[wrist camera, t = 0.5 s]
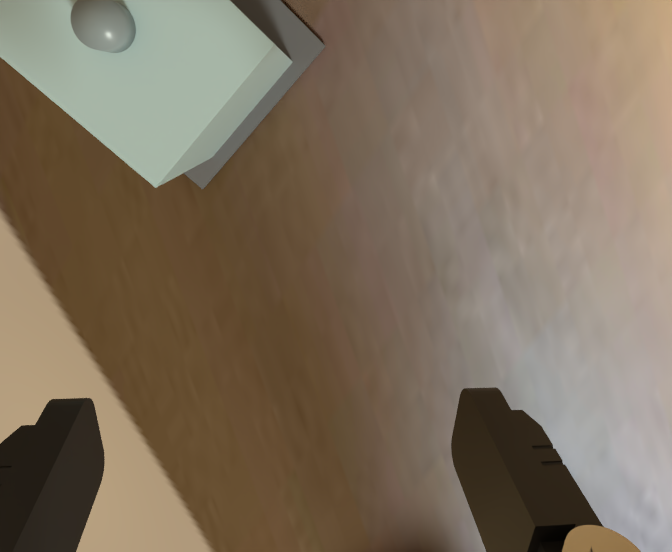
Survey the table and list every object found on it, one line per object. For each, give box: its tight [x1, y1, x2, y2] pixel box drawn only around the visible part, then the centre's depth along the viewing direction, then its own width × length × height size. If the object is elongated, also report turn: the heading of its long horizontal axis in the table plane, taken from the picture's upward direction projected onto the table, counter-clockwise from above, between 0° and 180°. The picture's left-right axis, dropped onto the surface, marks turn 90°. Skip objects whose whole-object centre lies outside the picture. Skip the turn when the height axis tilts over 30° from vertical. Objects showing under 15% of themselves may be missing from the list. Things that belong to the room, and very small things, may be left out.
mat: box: [184, 0, 325, 189], centre depth 27 cm, size 10×10×1 cm
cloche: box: [0, 0, 292, 188], centre depth 22 cm, size 7×9×11 cm
